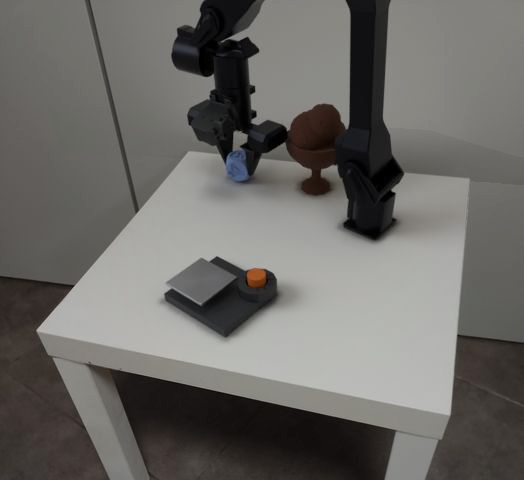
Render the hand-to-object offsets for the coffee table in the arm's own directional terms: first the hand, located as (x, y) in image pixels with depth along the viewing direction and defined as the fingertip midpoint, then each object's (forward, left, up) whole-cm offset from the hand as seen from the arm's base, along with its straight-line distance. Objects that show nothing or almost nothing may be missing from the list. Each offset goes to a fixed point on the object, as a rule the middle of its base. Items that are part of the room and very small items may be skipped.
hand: (239, 170), depth 99 cm
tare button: (-24, +23, +1) cm, 33 cm away
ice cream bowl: (-13, -6, -2) cm, 14 cm away
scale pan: (-18, +28, +1) cm, 33 cm away
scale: (-20, +26, -2) cm, 33 cm away
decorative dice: (0, 0, -1) cm, 1 cm away
